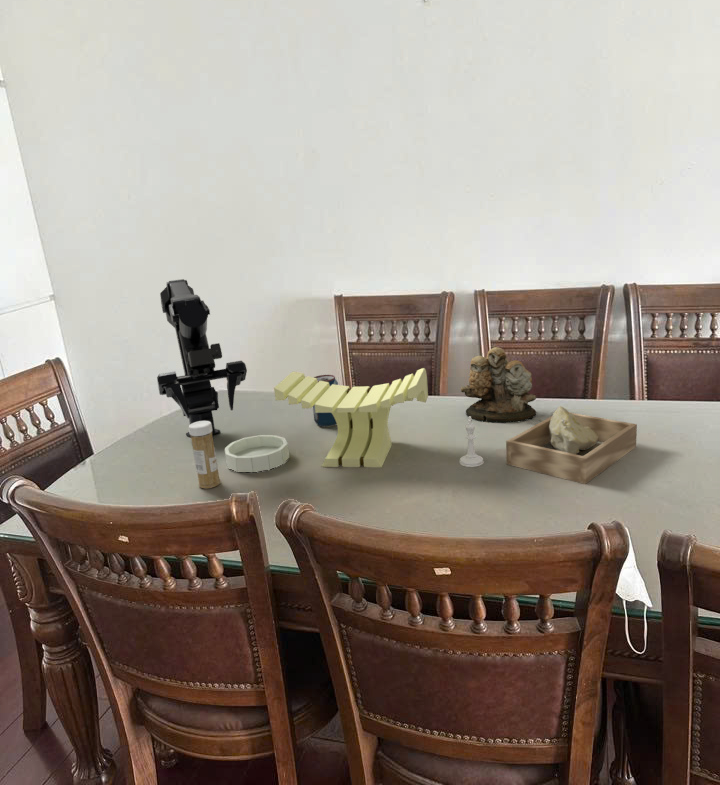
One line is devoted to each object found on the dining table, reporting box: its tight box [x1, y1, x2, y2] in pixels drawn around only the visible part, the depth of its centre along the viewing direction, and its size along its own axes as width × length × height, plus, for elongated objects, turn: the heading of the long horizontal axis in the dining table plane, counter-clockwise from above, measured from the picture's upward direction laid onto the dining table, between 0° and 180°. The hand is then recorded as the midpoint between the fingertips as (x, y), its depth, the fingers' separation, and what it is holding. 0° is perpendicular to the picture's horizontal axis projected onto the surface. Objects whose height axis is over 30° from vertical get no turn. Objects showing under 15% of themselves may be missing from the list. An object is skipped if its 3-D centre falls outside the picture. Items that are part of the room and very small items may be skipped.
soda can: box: [312, 374, 339, 428], centre depth 169 cm, size 7×7×12 cm
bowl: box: [224, 434, 290, 473], centre depth 149 cm, size 14×14×4 cm
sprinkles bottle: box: [188, 421, 221, 489], centre depth 137 cm, size 5×5×13 cm
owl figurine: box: [460, 346, 537, 424], centre depth 163 cm, size 18×12×17 cm, turn 75°
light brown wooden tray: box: [505, 412, 638, 485], centre depth 137 cm, size 17×22×5 cm
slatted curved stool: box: [273, 367, 429, 468], centre depth 147 cm, size 30×16×18 cm, turn 78°
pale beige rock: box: [549, 405, 598, 455], centre depth 138 cm, size 15×7×15 cm
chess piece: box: [459, 416, 485, 468], centre depth 137 cm, size 5×5×10 cm
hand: (210, 413), depth 143 cm, fingers open, 9 cm apart
